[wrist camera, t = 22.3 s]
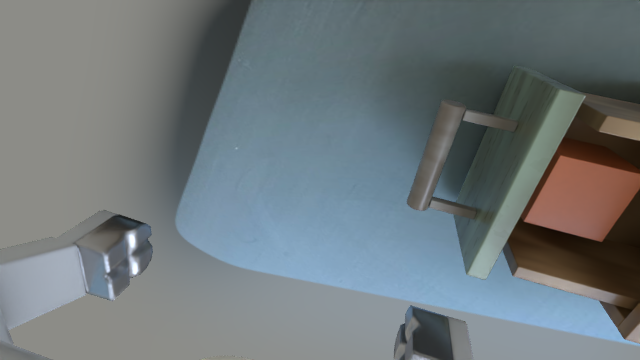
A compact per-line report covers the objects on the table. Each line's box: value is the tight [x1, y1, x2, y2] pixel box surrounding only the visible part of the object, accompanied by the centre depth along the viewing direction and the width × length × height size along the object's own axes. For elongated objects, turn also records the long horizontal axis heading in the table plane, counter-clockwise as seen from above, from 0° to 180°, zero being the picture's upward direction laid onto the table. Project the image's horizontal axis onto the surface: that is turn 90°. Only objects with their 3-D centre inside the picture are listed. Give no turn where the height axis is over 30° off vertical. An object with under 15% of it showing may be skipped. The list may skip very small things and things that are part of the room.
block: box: [521, 137, 640, 242], centre depth 21 cm, size 4×4×4 cm
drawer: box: [407, 66, 640, 310], centre depth 21 cm, size 18×11×8 cm, turn 80°
